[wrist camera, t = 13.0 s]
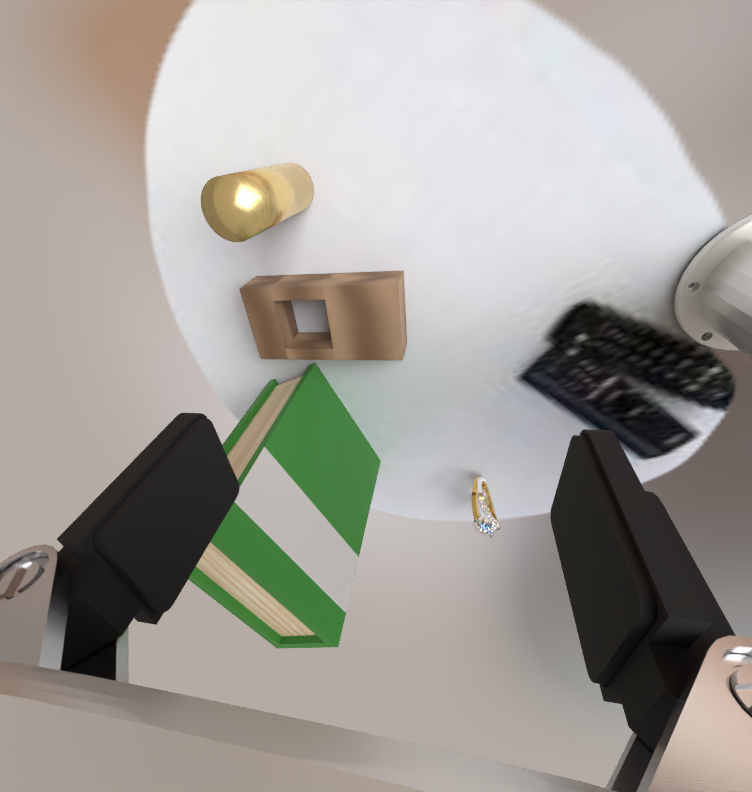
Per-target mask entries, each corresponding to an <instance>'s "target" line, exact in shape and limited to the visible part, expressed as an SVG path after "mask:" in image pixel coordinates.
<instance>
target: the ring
mask: <svg viewBox="0 0 752 792" xmlns="http://www.w3.org/2000/svg"><path fill="white" fill-rule="evenodd" d="M482 491H483V492H482ZM477 494H478V496H479V500H480V504H481V507H482V509H483V511H484V513H485V515H486V516H487V518H488V520H487V519H486V518H485V517H480V513H479V509H478V501H477ZM483 494H484V497H485V501H486V504H485V501H484V498H483ZM486 506H487V507H486ZM472 508H473V515H474V523H473V525H474V528H475V529H476V530H477V531H478V532H481V533H484V535H486V534H489V535H490V537H492V536H494V533H495V530H498V529H500V527H501V526H500V525H499V523H498V521H497V518H496V514H495V510H494V507H493V503H492V500H491V496H490V493H489V490H488V486H487V481H485V479H484V477H476V478H475V480H474V484H473V490H472ZM480 521H481V526H480V525H479V522H480Z"/></svg>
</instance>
